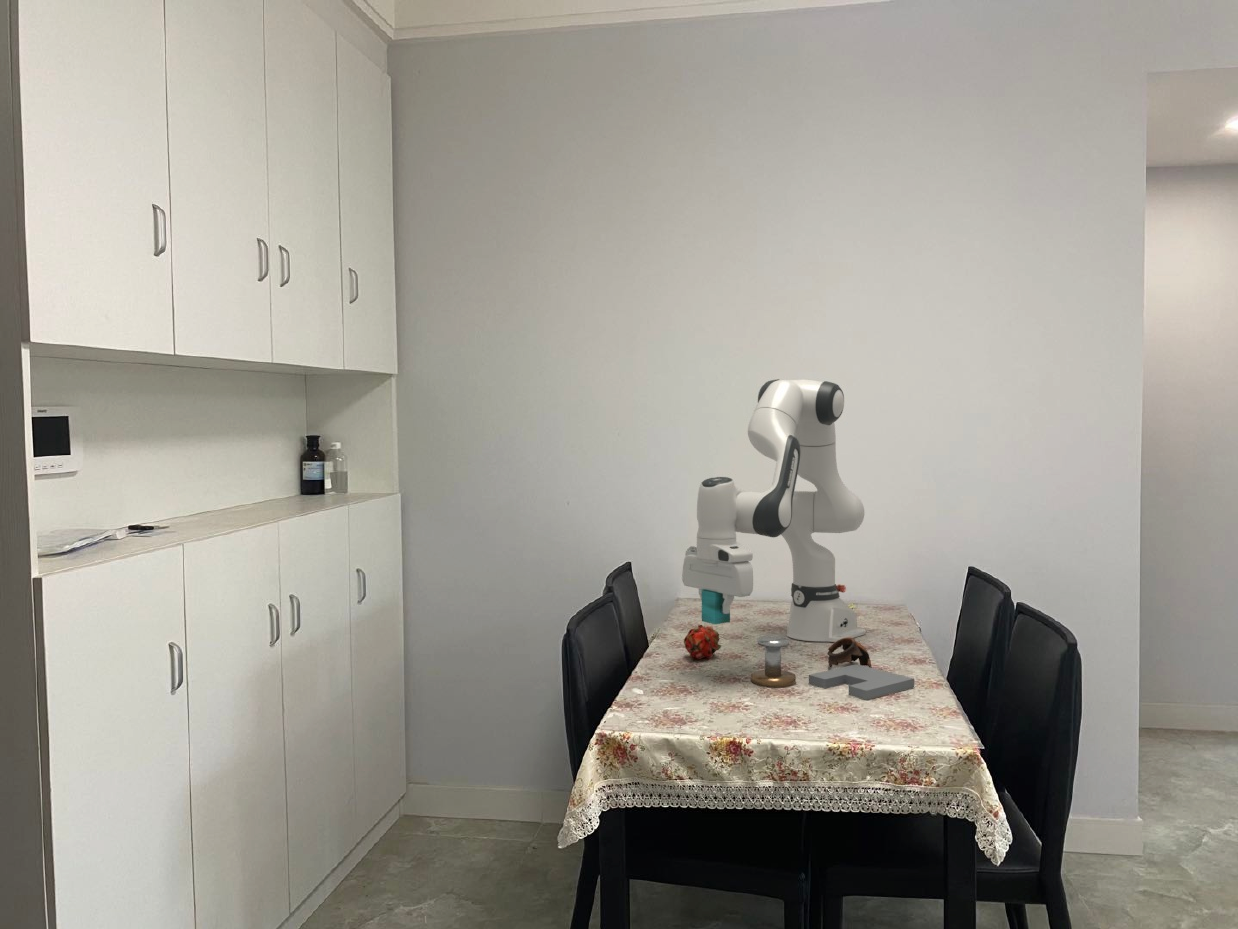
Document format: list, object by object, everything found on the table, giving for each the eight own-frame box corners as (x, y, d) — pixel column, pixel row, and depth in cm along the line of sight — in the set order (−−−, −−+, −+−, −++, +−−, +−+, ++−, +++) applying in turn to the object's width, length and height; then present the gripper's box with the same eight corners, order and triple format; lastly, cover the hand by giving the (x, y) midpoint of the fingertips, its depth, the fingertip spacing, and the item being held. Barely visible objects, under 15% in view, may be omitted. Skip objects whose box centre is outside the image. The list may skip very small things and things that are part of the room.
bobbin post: (772, 673, 230) (772, 632, 229) (805, 682, 222) (805, 640, 221) (741, 680, 224) (741, 638, 223) (773, 690, 216) (773, 646, 215)
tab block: (716, 618, 228) (716, 588, 228) (730, 622, 224) (730, 591, 224) (701, 621, 225) (701, 590, 225) (714, 624, 222) (715, 593, 221)
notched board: (856, 672, 231) (856, 664, 230) (914, 687, 218) (914, 678, 218) (808, 683, 221) (808, 674, 221) (866, 700, 208) (866, 690, 208)
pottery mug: (876, 676, 229) (860, 647, 228) (838, 691, 232) (822, 662, 231) (873, 651, 240) (858, 623, 239) (837, 666, 243) (821, 638, 242)
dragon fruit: (713, 658, 251) (697, 676, 240) (686, 637, 253) (669, 654, 242) (731, 634, 247) (716, 651, 237) (704, 612, 249) (687, 629, 239)
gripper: (675, 546, 231) (675, 605, 231) (736, 556, 214) (736, 620, 215) (696, 544, 234) (696, 602, 235) (758, 553, 218) (757, 616, 219)
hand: (716, 611), depth 225 cm, fingers closed on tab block, 4 cm apart
